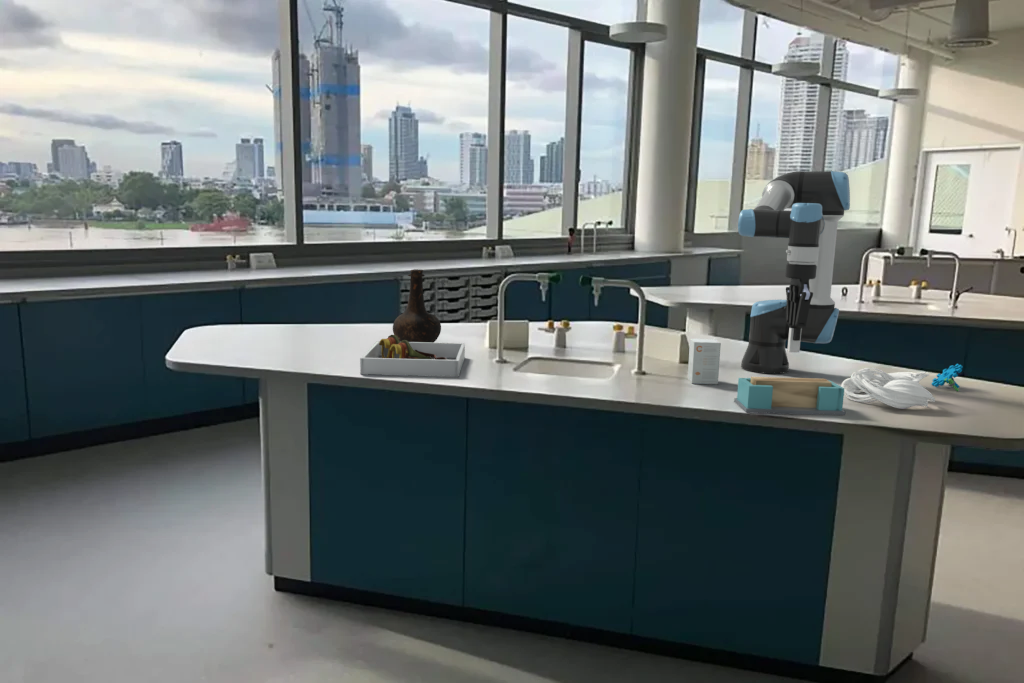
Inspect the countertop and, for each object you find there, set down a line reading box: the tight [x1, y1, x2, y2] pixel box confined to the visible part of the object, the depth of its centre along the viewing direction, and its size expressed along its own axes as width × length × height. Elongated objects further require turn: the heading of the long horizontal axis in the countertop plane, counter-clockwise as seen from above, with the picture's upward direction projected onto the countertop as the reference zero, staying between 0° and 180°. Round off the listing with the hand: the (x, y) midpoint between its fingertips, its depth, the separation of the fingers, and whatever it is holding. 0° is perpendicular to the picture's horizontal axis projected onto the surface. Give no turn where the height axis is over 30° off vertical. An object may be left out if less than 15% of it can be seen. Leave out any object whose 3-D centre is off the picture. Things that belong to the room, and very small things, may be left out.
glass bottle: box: [392, 268, 442, 343], centre depth 277 cm, size 18×18×28 cm
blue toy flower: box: [931, 363, 963, 392], centre depth 232 cm, size 11×6×10 cm
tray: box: [359, 340, 466, 378], centre depth 244 cm, size 29×30×5 cm
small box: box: [687, 338, 722, 385], centre depth 231 cm, size 8×6×13 cm
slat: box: [750, 376, 833, 408], centre depth 203 cm, size 4×20×7 cm, turn 89°
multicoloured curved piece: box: [379, 334, 449, 360], centre depth 244 cm, size 24×24×10 cm
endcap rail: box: [733, 377, 846, 416], centre depth 203 cm, size 11×26×7 cm, turn 90°
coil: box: [840, 367, 936, 409], centre depth 213 cm, size 25×24×9 cm
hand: (793, 351), depth 201 cm, fingers closed
